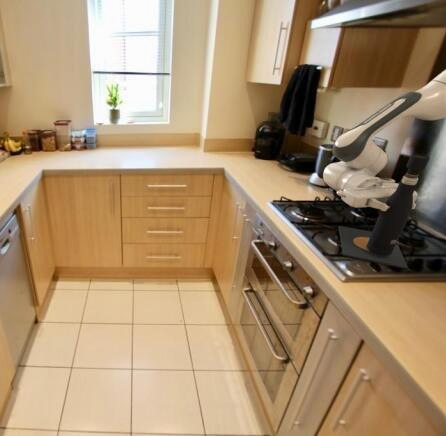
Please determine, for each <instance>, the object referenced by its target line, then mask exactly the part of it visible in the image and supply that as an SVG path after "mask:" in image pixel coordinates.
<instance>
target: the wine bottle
mask: <svg viewBox="0 0 446 436" xmlns="http://www.w3.org/2000/svg"><path fill="white" fill-rule="evenodd" d="M430 158H431V157H430V156H428V155H425V154H421V153H420V154H419V153H413V154H410V157H409V159H408V161H407V162H406V166H405V167H406V168H407V171H406V173H405V175H403V176H402V179H401V180H400V181H399V182H398V184H399V185H398V187H397V189H396V191H395V192H394V193H393V194H392V195H391V196H390V197H389V198H388V200H387V201H386V202H385V203H387V204H388V205H390V206H391V208H390V210H389V211H382V210H380V212H379V215H378V217H377V220H376V221H375V224H374V226H373V229H372V231H371V232H372V234H371V236H370V238H369V241H368V243H367V246H366V247H367V249H368V250H369V251H371V252H373V253H375V254H379V255H391V254H392V252H393V250H394V248H395V245H396V243H397V244H398V242H399V239H400V237H401V235H402V233H403V231H404V229H405V226H406V224H407V222H408V220H409V219H410V218H409V217H410V216H411V214H412V210H413V209H412V206H413V193H414V191H416V189H417V186H418V182H419V175H420V172H421V171H425V170H426V168H427V166H428V163H429V161H430Z"/></svg>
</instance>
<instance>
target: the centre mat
mask: <svg viewBox="0 0 446 436" xmlns="http://www.w3.org/2000/svg"><path fill="white" fill-rule="evenodd" d="M338 232H339V233H338V234H339V239H340V247H341V253H342V256H343V257H348V258H353V259H357V260H361V261H367V262H372V263H376V264H380V265H384V266H391V267H395V268H400V269H403V270H408V269H409V266H408V265H407V262H406V260H405V258H404V255H403V253H402V251H401V249H400V246H399V244H398V242H397V243H396V245H395V248H394V250H393V252H392V254H391V255H379V254H375V253H373V252H371V251H369V250H368V249H367V247H366V246H367V243H368V241H369V238H370V236H371V234H372V231H370V230H364V229H359V228H353V227H347V226H342V225H339V226H338Z"/></svg>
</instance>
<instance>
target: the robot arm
mask: <svg viewBox="0 0 446 436" xmlns="http://www.w3.org/2000/svg"><path fill="white" fill-rule="evenodd" d="M408 117H409V118H415V119H419V120H423V121H436V120H437V121H438V120H442V119H445V118H446V69H444V70H443V71H441V73H439V74H437V76H435V77H434V78H433V79H432V80H430V81H429V82H428V83H427V84H425V85H424V86H422V87H421V88H419V89H418V90H415V91H408V92H405V93H403V94H401V95H399V96H397V97H396V98H394V99H393V100H391V101H390V102H389V103H387V104H386V105H384V106H383V107H381V108H380V109H378V110H376V111H375V112H374V113H372V114H371V115H370V116H368V117H367V118H366V119H364V120H363V121H361V122H360V123H358V124H357V125H355V126H354V127H352V128H350V129H348V130H346V131H345V132H343V133H341V134H340V135H339V136H337V138H336V139H335V140H334V142H333V145H332V150H331V151H332V155H333V157H335V158H336V159H338V160H339V161H337V162H332V163H329V164H328V165H327V166H326V167H324V170H323V173H322V179H323V181H324V182H325V184H327V185H328V186H329V187H330V188H331V189H333V190H335V191H336V195H338V196H339V197H341V198H340V199H341V200H342V201H343V202H344V203H345V204H347V205H348V206H349V207H352V208H357V209H358V208H374V209H377V210H380V211H381V210H382V211H389V210H390V208H391V206H390V205H388V204H387V203H385V202H386V201H387V200H388V198H389V197H390V196H391V195H392V194H393V193H394V192H395V191H396V189H397V187H398V185H399V182H398V183H397V182H396V180H395V179H392V178H388V177H378V176H377V175H379V174H380V173H381V172H382V171H383V170H384V169H385V168H386V166H387V164H388V163H389V162H388V161H389V157H388V154H387V153H386V152H385V151H384V150H383V149H382V148H381V147H379V146H378V145H377V144H376V143H375V142H374V141H373V140H372V139H373V138H374V136H376V135H377V134H379V133H380V132H382V131H383V130H385V129H387V127H389V126H390V125H391V124H393V123H395V122H396V121H398V120H400V119H402V118H408ZM418 196H419V195H418V192H417V191H416V190H415V191H414V193H413V206H412V210H415V208H416V206H417V203H415V202H416V201H417V200H418V199H417V198H418Z"/></svg>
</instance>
